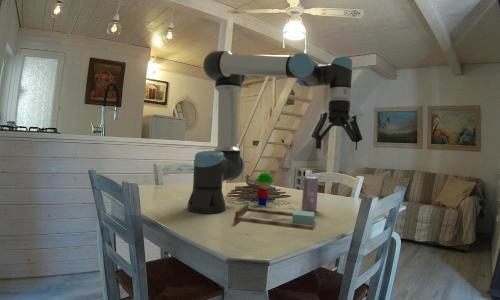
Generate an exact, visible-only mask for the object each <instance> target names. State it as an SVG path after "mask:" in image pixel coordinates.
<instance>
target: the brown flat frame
mask: <svg viewBox="0 0 500 300" xmlns="http://www.w3.org/2000/svg"><path fill="white" fill-rule="evenodd" d="M279 215H280V216H282V215H283V216H289V217H290V216H291V217H293V212H288V211H279V210H271V209H262V208H261V209H260V208H254V207H253V208H252V207H251V208H250V207H249V204H247V203H245V204H244V205H242V206H241V207H239V209H237V210H236V211H235V214H234V217H233V224H234V225H238V224H239V223H241V222H250V223H255V224H257V223H258V224H266V225H274V226H280V227H281V226H282V227H290V228H300V229H306V230H314V225H313V226H312V225H304V224H295V223H292V218H291V219H290V218H283V217H278V216H279Z"/></svg>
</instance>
